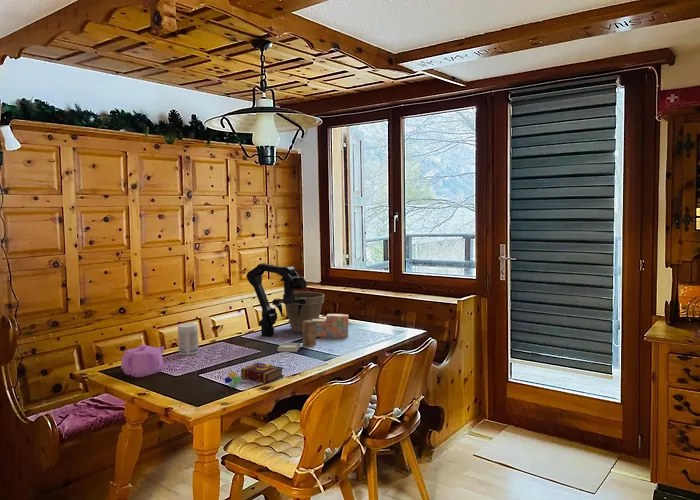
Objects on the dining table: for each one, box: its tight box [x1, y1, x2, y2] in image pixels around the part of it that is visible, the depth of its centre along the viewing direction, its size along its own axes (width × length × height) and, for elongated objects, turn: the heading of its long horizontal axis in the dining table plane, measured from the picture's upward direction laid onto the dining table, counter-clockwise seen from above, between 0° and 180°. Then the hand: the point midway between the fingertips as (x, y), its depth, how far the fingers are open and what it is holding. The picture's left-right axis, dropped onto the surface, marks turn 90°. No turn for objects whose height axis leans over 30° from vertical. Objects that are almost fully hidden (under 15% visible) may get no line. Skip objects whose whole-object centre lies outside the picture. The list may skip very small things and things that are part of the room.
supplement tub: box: [177, 322, 199, 356], centre depth 274 cm, size 10×10×15 cm
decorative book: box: [240, 361, 285, 384], centre depth 237 cm, size 11×16×5 cm
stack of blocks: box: [312, 313, 350, 338], centre depth 311 cm, size 21×6×12 cm, turn 85°
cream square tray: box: [277, 342, 301, 353], centre depth 283 cm, size 10×10×2 cm
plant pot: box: [282, 291, 325, 333], centre depth 326 cm, size 25×25×22 cm
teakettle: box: [120, 344, 165, 378], centre depth 244 cm, size 17×17×12 cm
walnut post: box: [302, 320, 317, 347], centre depth 290 cm, size 5×5×13 cm
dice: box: [224, 371, 242, 388], centre depth 225 cm, size 8×3×6 cm, turn 56°
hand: (290, 316), depth 303 cm, fingers open, 9 cm apart
